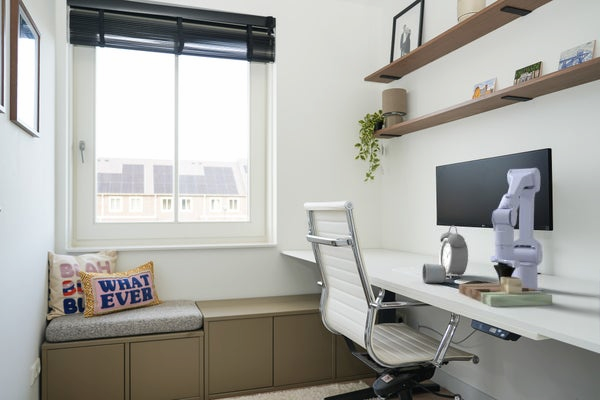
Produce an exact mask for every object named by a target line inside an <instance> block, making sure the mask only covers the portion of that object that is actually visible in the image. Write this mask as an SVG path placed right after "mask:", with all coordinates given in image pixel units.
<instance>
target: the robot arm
mask: <svg viewBox="0 0 600 400" xmlns="http://www.w3.org/2000/svg"><path fill="white" fill-rule="evenodd" d="M506 177H507V178H506V179H507V184H508V186H509V187H508V191H507V193H505V194H503V196H502V198H501V201H500V203H499V205H498V207H497V208H496V209H495V210H493V211H492V215H491V223H492V226H493V227H492V228H493V232H494V255H490V262H491V263H495V264H493V268H494V270H495V272H496V273H497V276H498V280H499V283H500V285H501V277H516V278H520V279H522V286H525V287H528V288H531V289H535V290H538V291H541V292H543V291H544V289H543V288H540V287H538V266H539V265H541V263H542V262H543V247H542V244H541V242H540V241H538V240H537V239H536V238H534V225H535V224H534V221H535V218H534V216H535V215H534V214H535V196H536V193H538V192H539V191H541V190H540V188H541V172H540V169H538V168H537V167H532V168H510V169H509V170H508V171H507V176H506ZM518 209H519V217H518ZM517 217H518V218H517ZM517 219H519V220H518V221H519V222H518V223H519V224H518V227H519V228H518V237H517V238H516V239H515V226H516V224H517ZM496 263H497V264H496Z"/></svg>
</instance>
